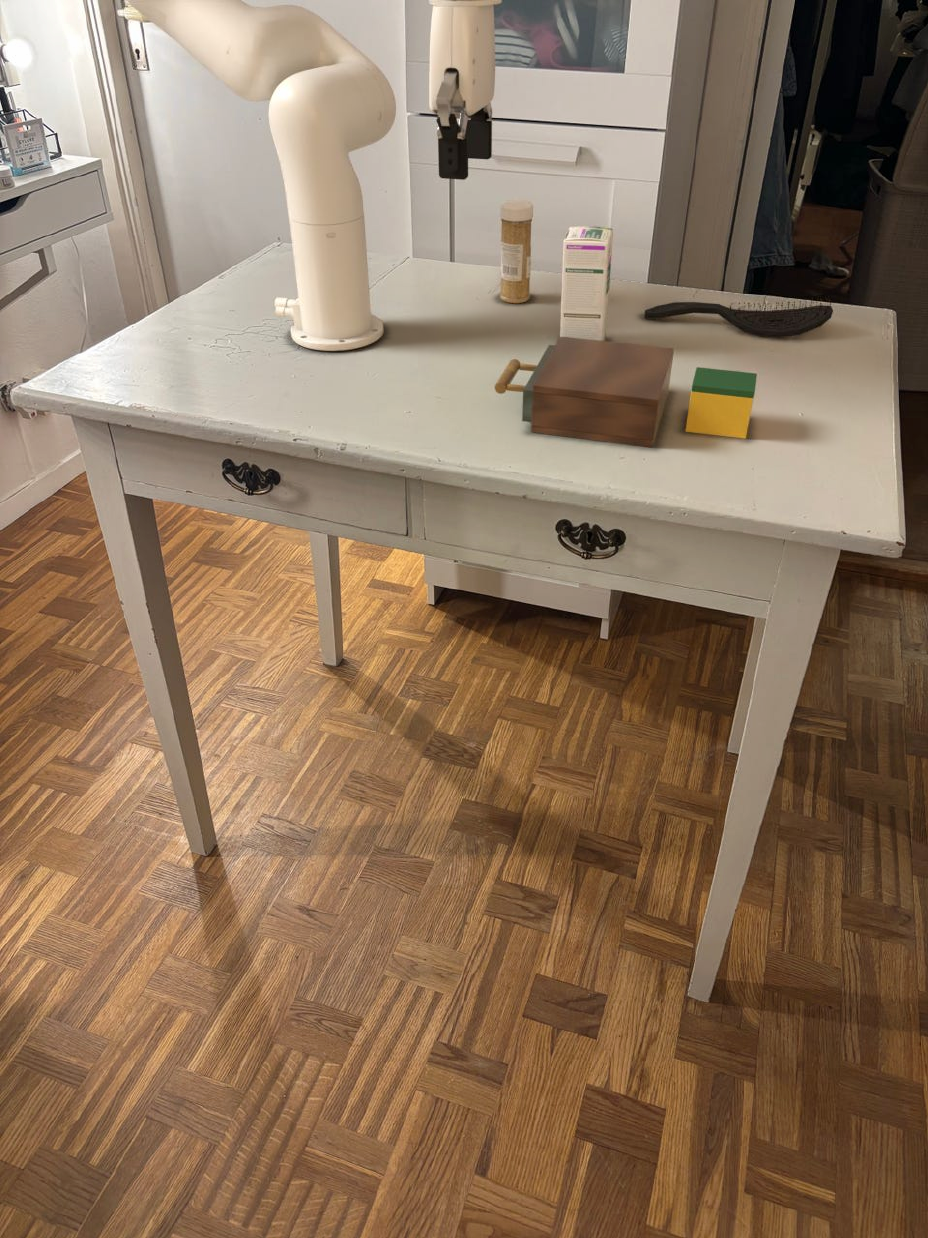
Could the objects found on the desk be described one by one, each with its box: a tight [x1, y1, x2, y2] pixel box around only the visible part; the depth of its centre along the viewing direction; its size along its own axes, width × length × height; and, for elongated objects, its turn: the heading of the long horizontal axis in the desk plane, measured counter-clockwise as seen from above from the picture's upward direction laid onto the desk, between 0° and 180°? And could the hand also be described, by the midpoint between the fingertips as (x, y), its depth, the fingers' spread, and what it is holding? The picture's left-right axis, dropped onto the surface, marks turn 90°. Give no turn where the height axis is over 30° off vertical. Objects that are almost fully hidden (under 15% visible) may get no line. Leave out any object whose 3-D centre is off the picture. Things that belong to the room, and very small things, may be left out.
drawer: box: [494, 344, 556, 423], centre depth 109 cm, size 17×13×4 cm
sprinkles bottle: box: [499, 199, 534, 304], centre depth 136 cm, size 5×5×13 cm
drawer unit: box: [530, 336, 675, 448], centre depth 108 cm, size 14×15×6 cm
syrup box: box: [559, 225, 614, 341], centre depth 121 cm, size 6×6×14 cm
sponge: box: [685, 366, 758, 440], centre depth 105 cm, size 7×5×6 cm
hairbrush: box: [643, 297, 834, 339], centre depth 130 cm, size 8×4×25 cm
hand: (466, 167), depth 107 cm, fingers open, 9 cm apart
